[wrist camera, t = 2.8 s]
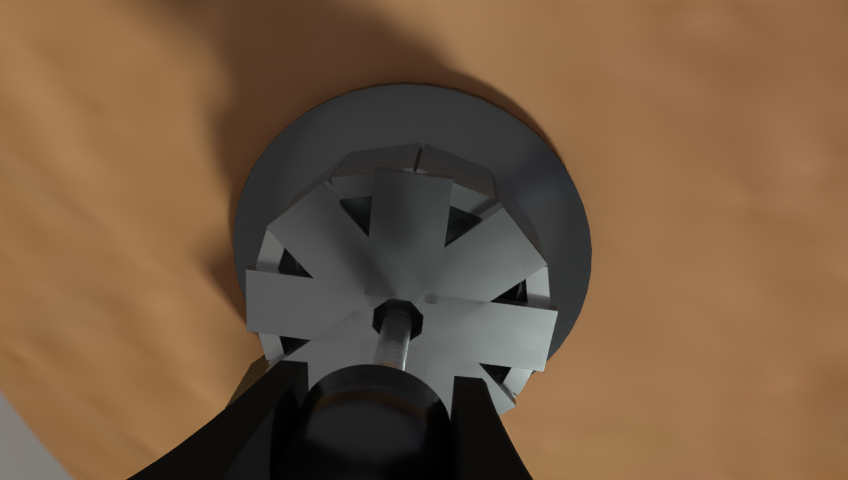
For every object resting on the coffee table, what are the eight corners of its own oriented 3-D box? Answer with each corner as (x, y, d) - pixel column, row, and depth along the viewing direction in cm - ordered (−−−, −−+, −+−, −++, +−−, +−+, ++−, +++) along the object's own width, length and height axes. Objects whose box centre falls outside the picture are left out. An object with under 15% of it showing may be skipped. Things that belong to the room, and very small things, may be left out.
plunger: (406, 246, 15) (369, 396, 9) (477, 329, 16) (484, 514, 10) (319, 308, 16) (236, 479, 10) (391, 384, 17) (352, 581, 11)
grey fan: (441, -6, 16) (434, -8, 12) (655, 293, 19) (700, 362, 15) (154, 241, 20) (83, 296, 16) (374, 457, 23) (356, 543, 19)
